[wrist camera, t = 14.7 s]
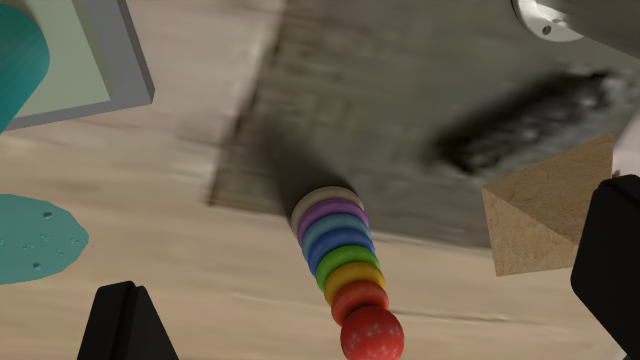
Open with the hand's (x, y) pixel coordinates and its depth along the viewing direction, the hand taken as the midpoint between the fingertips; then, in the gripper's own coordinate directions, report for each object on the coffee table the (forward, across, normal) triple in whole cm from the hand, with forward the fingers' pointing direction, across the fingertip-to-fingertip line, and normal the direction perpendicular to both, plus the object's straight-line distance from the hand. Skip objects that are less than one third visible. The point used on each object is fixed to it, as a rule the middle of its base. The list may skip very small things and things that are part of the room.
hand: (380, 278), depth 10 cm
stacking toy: (+33, -3, +24) cm, 41 cm away
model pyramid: (+34, -31, +31) cm, 55 cm away
